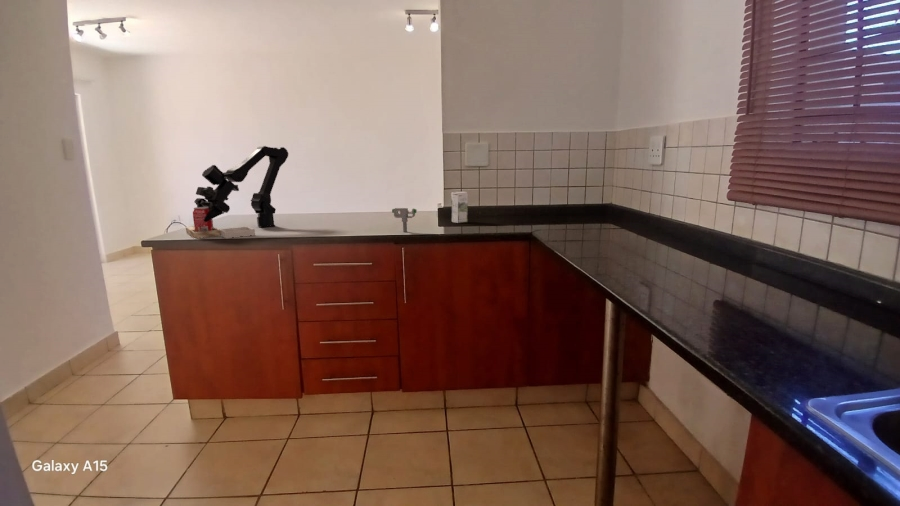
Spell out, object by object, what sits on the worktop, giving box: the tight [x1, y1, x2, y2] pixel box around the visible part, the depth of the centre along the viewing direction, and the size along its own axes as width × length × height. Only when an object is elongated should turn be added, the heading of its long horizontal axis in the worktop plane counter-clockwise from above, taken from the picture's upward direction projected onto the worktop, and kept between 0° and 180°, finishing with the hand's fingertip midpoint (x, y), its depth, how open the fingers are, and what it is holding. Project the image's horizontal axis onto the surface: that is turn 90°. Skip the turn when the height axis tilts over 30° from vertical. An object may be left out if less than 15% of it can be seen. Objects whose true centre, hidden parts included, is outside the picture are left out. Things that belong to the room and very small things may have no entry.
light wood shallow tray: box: [185, 226, 220, 239], centre depth 202 cm, size 10×20×2 cm, turn 37°
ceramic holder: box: [218, 226, 256, 239], centre depth 198 cm, size 12×12×2 cm
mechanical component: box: [391, 207, 418, 233], centre depth 197 cm, size 3×10×10 cm, turn 78°
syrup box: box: [450, 190, 469, 224], centre depth 222 cm, size 6×6×14 cm
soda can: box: [192, 206, 214, 232], centre depth 197 cm, size 7×7×12 cm
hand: (199, 220), depth 195 cm, fingers open, 7 cm apart
